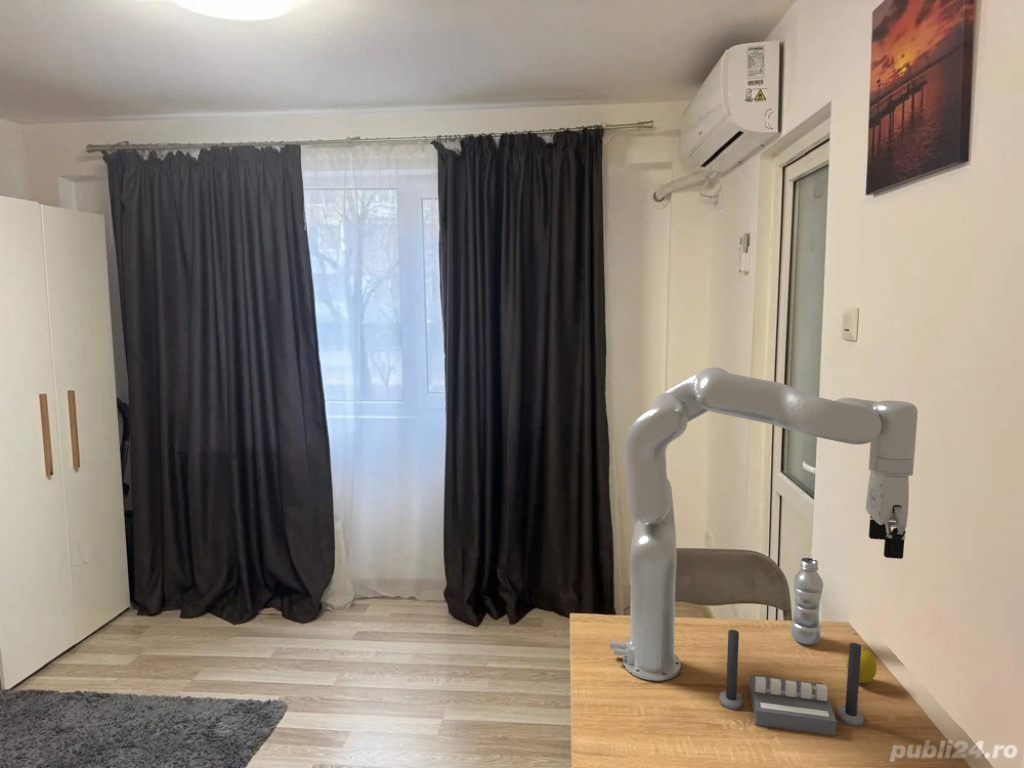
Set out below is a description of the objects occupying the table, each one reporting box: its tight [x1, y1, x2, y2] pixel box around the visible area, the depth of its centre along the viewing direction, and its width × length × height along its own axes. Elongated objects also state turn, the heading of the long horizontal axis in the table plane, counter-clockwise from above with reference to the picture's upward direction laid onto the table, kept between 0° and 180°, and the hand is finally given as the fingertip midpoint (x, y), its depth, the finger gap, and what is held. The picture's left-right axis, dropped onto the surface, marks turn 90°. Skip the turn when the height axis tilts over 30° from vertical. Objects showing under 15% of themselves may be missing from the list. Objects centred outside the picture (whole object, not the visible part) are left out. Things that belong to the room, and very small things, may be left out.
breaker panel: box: [748, 674, 837, 737], centre depth 127 cm, size 14×12×3 cm
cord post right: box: [837, 642, 865, 727], centre depth 123 cm, size 4×4×15 cm
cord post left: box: [719, 629, 744, 711], centre depth 128 cm, size 4×4×15 cm
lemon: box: [846, 646, 877, 684], centre depth 135 cm, size 6×6×8 cm
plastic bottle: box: [790, 557, 824, 646], centre depth 150 cm, size 6×7×20 cm
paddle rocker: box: [755, 676, 829, 701], centre depth 126 cm, size 13×1×3 cm, turn 76°
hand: (885, 547), depth 128 cm, fingers open, 9 cm apart
